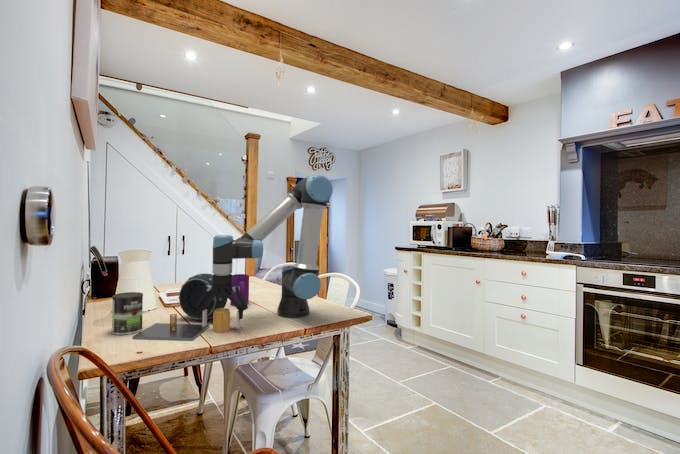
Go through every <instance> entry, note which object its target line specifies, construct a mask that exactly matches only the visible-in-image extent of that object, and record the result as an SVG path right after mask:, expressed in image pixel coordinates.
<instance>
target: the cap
mask: <svg viewBox="0 0 680 454" xmlns="http://www.w3.org/2000/svg"><path fill="white" fill-rule="evenodd" d="M229 330H231V309H229V308H227V307H226V308H225V307H224V308H219V309H215V310H214V313H213V318H212V331H213V332H214V333H225V332H229Z"/></svg>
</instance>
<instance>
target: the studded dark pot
mask: <svg viewBox="0 0 680 454" xmlns="http://www.w3.org/2000/svg"><path fill="white" fill-rule="evenodd" d="M212 275H213V273H198V274H195V275H193V276H190V277H188V279H187V280H185V282H184V283H183V284H182V285H181V287H180V290H179V293H178V295H179V296H178V300H179V305H180V309H181V310H182V311H183V313H185V315H186V316H187V317H189V318H191V319H193V320H196V321H200V322H201V321H202V318H200V310H199V309H196V308H195V307H196V305H197V303H198V301H199V299H200V297H201V295H202V293H203V291H204V286H206V285H209V286H212ZM212 294H213V291H212V290H211V289H210V291H208V294H207V295H206V297H205V299H204V301H203V303H202V305H201V306H203V304H204V303H205V302H206V301H207V300H208V299H209V298H210V296H211V295H212ZM228 301H229V299H228V298H227V297H225V298H223V297H215V298H214V299H213V300H212V301H211V302H210V303H209V304H208V306H207V307H206V308H205V309H207V320H211V319H213V313H214V310H215V309H219V308H225V307H226V305H227V303H228Z"/></svg>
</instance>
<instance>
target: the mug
mask: <svg viewBox="0 0 680 454" xmlns="http://www.w3.org/2000/svg"><path fill="white" fill-rule="evenodd" d="M232 286H233V287H237V286H240V291H241V293H242V295H243V298H244V300H245V302H246V304H247V305H248V304H249V299H250V294H249V293H250V275H249V274H245V273H244V274H242V273H238V274H237V273H236V274H232ZM231 293H232V294H233V296H234V297H235V298H236V300H237V301H238V302H239V303H240V301H239V299H238V297H237V295H236V292H234V290H232V292H231ZM230 305H231V306H234V304H233V303H232V302H231V301H230ZM240 305H241V303H240ZM241 306H242V305H241ZM234 307H235V306H234Z"/></svg>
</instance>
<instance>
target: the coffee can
mask: <svg viewBox="0 0 680 454" xmlns="http://www.w3.org/2000/svg"><path fill="white" fill-rule="evenodd" d="M143 296H144V293H143V292H139V291H138V292H135V291H130V292H120V293H116V294H113V295H112V296H111V298H112V309H111V311H112V312H111V313H112V316H111V317H112V321H111V325H112V327H111V334H113V335H118V336H121V335H122V336H124V335H132V334H137V333H139V332H141V331H143V309H144V308H143V305H144V304H143V301H144V300H143Z"/></svg>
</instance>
